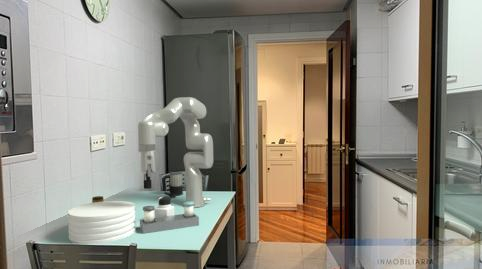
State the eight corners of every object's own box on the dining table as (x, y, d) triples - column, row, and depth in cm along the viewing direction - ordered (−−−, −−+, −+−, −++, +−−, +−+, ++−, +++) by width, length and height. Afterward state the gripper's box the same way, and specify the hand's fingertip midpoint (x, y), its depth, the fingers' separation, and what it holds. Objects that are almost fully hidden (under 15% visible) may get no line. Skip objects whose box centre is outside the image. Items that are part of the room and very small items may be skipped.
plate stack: (83, 225, 169) (82, 201, 169) (141, 222, 171) (140, 199, 171) (57, 245, 142) (56, 217, 141) (127, 242, 144) (126, 215, 143)
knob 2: (192, 214, 171) (192, 200, 171) (195, 217, 166) (195, 202, 166) (182, 216, 169) (182, 201, 169) (185, 218, 164) (185, 204, 164)
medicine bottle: (174, 219, 175) (174, 196, 175) (167, 223, 169) (166, 199, 168) (162, 218, 178) (161, 195, 177) (154, 222, 171) (154, 198, 170)
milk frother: (181, 192, 243) (181, 171, 242) (187, 196, 228) (186, 174, 228) (161, 194, 237) (160, 173, 236) (165, 199, 223) (165, 176, 222)
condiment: (88, 220, 176) (88, 197, 176) (104, 216, 183) (103, 194, 182) (95, 223, 172) (95, 199, 171) (111, 219, 178) (111, 196, 178)
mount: (193, 220, 173) (193, 212, 173) (199, 225, 165) (198, 217, 165) (139, 228, 162) (139, 219, 162) (143, 233, 154) (142, 224, 154)
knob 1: (153, 220, 163) (153, 205, 163) (155, 222, 158) (155, 207, 158) (142, 221, 161) (142, 206, 161) (144, 224, 156) (143, 209, 156)
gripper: (158, 149, 153) (159, 190, 153) (152, 147, 166) (152, 185, 167) (141, 149, 150) (141, 191, 150) (136, 147, 163) (136, 186, 164)
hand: (147, 188), depth 159 cm, fingers closed
